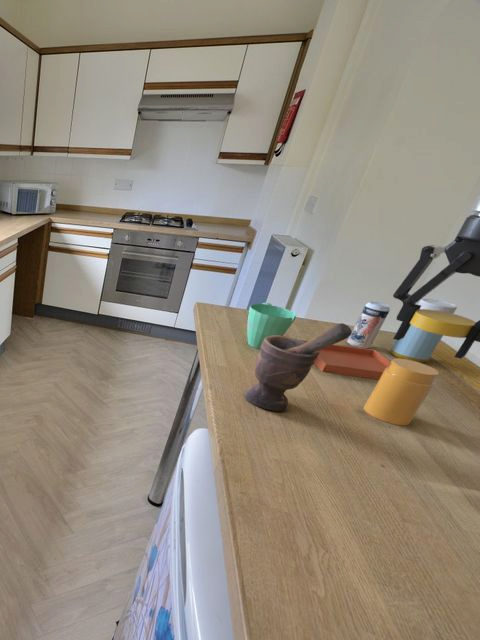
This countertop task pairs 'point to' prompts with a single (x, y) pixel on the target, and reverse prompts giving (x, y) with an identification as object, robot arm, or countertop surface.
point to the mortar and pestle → (287, 365)
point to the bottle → (421, 336)
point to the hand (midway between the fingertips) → (427, 346)
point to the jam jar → (400, 391)
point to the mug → (267, 322)
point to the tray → (351, 361)
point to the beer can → (368, 324)
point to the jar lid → (442, 323)
